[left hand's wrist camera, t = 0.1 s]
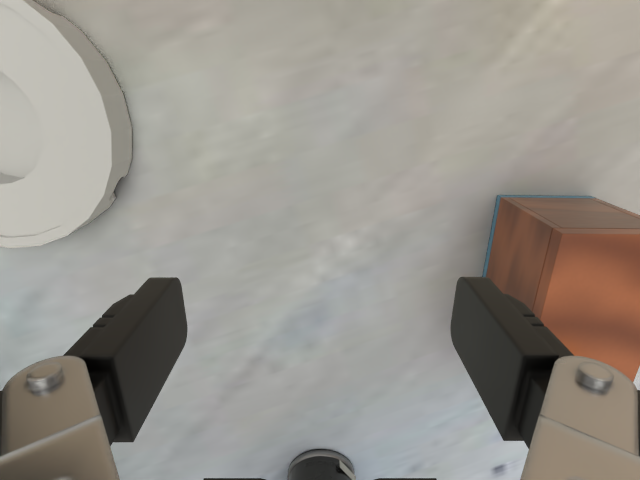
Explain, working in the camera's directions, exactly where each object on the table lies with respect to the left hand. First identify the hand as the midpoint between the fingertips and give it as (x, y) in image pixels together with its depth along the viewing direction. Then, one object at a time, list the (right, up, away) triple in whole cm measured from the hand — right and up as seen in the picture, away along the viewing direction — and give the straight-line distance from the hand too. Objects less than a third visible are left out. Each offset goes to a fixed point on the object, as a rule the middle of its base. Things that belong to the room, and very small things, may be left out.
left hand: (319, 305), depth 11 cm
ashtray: (-30, +13, +26) cm, 42 cm away
